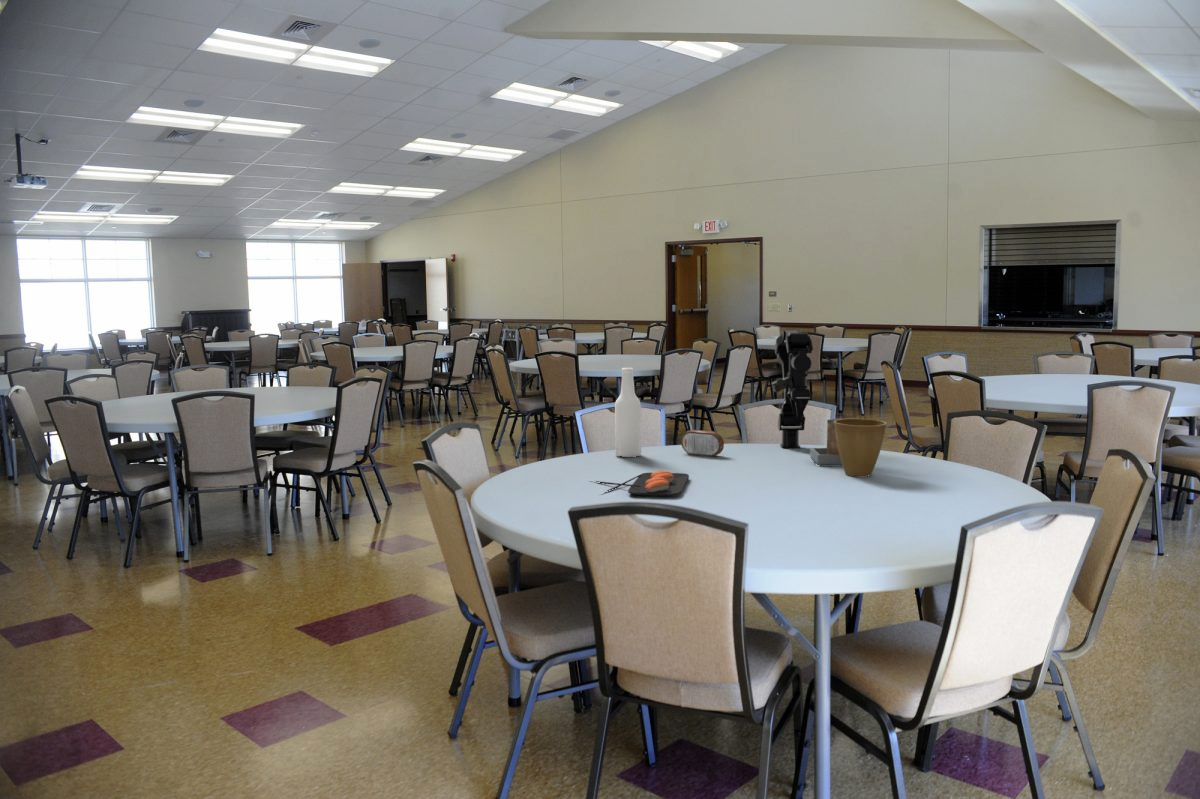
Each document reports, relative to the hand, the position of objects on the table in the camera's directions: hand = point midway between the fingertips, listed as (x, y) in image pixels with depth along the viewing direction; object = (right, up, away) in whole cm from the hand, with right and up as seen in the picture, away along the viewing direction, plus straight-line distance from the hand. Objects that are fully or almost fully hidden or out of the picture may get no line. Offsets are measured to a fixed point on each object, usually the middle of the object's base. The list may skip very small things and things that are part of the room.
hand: (797, 416), depth 308 cm
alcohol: (-57, -14, +3) cm, 59 cm away
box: (+9, -15, -14) cm, 22 cm away
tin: (-32, -14, +2) cm, 35 cm away
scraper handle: (+9, -14, -14) cm, 22 cm away
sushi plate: (-57, -20, -48) cm, 77 cm away
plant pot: (+11, -17, -35) cm, 41 cm away
